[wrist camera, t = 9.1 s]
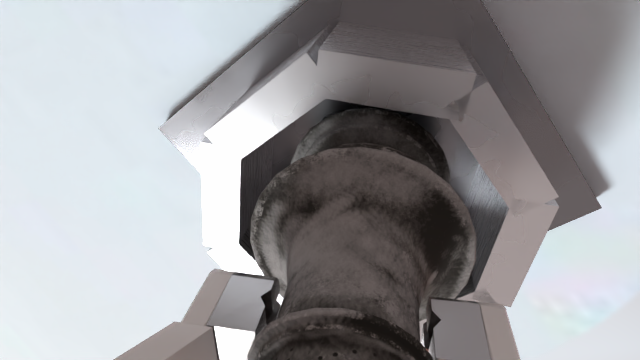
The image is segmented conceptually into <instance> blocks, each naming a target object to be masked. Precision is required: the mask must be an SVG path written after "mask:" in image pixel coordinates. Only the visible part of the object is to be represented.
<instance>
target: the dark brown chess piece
mask: <svg viewBox="0 0 640 360" xmlns="http://www.w3.org/2000/svg"><path fill="white" fill-rule="evenodd" d="M250 242H251V246H252V249H253V253H254V256H255V260H256V263H257V265H258V267H259V268H260V270H261V272H262V273H263V275H264V276H270V277H276V278H278V279H279V286H280V292H279V294H280V295H281V296H282V297H283V301H282V304H281V307H280V310H279V313H278V316H277V319H276V320H274V321H272V322H270V323H269V324H268V325H267V326H266V327H265V328H264V329H263V330H262V331H260V332H259V333H258V334H257V335H256V337H255V339H254V341H253V343H252V345H251V347H250V350H249V352H248V356H247V360H434V359H433V357H432V355H431V354H430V353H429V352H428V351H427V350H426V348H425V347H424V346H423V345H422V344H421V343H420V323H419V321H422V320H424V319H426V306H427V301H428V298H429V296H432V297H441V298H450V299H455V298H456V297H457V295H458V294H459V293H460V292H461V290H462V289H463V288H464V287H465V286H466V284H467V283H468V280H469V278H470V275H471V272H472V270H473V267H474V265H475V262H476V233H475V229H474V226H473V223H472V220H471V217H470V214H469V211H468V208H467V207H466V206H465V204H464V203H463V201H462V200H461V199H460V197H459V196H458V195H457V193H456V192H455V190H454V189H453V188H452V186H451V185H450V169H449V166H448V163H447V160H446V157H445V154H444V151H443V150H442V148H441V147H440V145H439V144H438V142H437V141H436V140H435V138H434V137H433V135H432V134H431V133H430V132H428V131H427V130H426V129H425V128H423V127H422V126H421V125H419V124H418V123H417V122H416V121H414V120H412V119H410V118H408V117H405V116H403V115H401V114H399V113H396V112H394V111H389V110H382V109H376V108H361V109H349V110H346V111H343V112H340V113H337V114H334V115H332V116H329V117H327V118H325V119H324V120H322V121H321V122H320V123H318V124H317V125H315V126H314V127H312V128H311V129H310V130H309V131H308V133H307V134H306V135H305V136H304V138H303V139H302V140H301V141H300V143H299V144H298V146H297V149H296V151H295V154H294V156H293V159H292V161H291V165H289V166H288V167H286V168H285V169H283V170H282V171H281V172H279V173H278V174H276V175H275V177H274V178H273V179H272V180H271V182H270V183H269V184H268V185H267V186H266V188H265V189H264V190H263V191H262V193H261V194H260V196H259V198H258V201H257V203H256V206H255V209H254V212H253V214H252V217H251V233H250Z"/></svg>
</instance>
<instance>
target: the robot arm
mask: <svg viewBox="0 0 640 360" xmlns="http://www.w3.org/2000/svg"><path fill="white" fill-rule="evenodd" d="M279 292H280V286H279V279H278V278H276V277H270V276H263V275H256V274H249V273H243V272H232V271H226V270H219V269H214V270H213V271H211V272H210V273H209V275H208V276H207V278H206V280H205V282H204V283H203V285H202V287H201V288H200V290H199V292H198V294H197V295H196V297H195V299H194V301H193V302H192V304H191V306H190V307H189V309H188V311H187V313H186V314H185V316H184V318H183V320H182V321H181V322H173V323H172V324H170V325H168V326H167V327H165V328H164V329H162V330H160V331H159V332H157V333H155V334H154V335H152V336H151V337H149V338H147V339H146V340H144V341H143V342H141V343H139V344H138V345H136V346H135V347H133V348H131V349H130V350H128V351H127V352H125V353H123V354H122V355H120V356H119V357H117V358H115V359H114V360H247V356H248V352H249V350H250V347H251V345H252V343H253V341H254V339H255V337H256V335H257V334H258V333H259V332H260V331H262V330H263V329H264V328H265V327H266V326H267V325H268V324H269V323H270V322H272V321H274V320H276V319H277V316H278V313H279V310H280V307H281V305H280V304H279V302H278V301H277V298H278V295H279ZM426 319H427V322H425V323H424V324H423V329H422V336H421V344H422V345H423V346H424V347H425V348H426V350H427V351H428V352H429V353H430V354H431V355H432V357H433V359H434V360H520V357H519V353H518V350H517V346H516V343H515V340H514V336H513V333H512V329H511V326H510V322H509V319H508V315H507V312H506V308H505V307H504V306H503V305H502V304H496V303H486V302H476V301H467V300H458V299H450V298H441V297H432V296H429V298H428V301H427V306H426Z"/></svg>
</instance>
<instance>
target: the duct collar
mask: <svg viewBox="0 0 640 360" xmlns="http://www.w3.org/2000/svg"><path fill="white" fill-rule="evenodd" d="M361 108H376V109H382V110H389V111H394V112H396V113H399V114H401V115H403V116H405V117H408V118H410V119H412V120H414V121H416V122H417V123H418V124H419V125H421V126H422V127H423V128H425V129H426V130H427V131H428V132H430V133H431V134H432V135H433V137H434V138H435V140H436V141H437V142H438V144H439V145H440V147H441V148H442V150H443V151H444V154H445V157H446V160H447V163H448V166H449V169H450V185H451V186H452V188H453V189H454V190H455V192H456V193H457V195H458V196H459V197H460V199H461V200H462V201H463V203H464V204H465V206H466V207H467V208H468V211H469V214H470V217H471V220H472V223H473V226H474V229H475V233H476V262H475V265H474V267H473V270H472V272H471V275H470V278H469V280H468V283H467V284H466V286H465V287H464V288H463V289H462V290H461V292H460V293H459V294H458V295H457V297H456V298H455V299H458V300H467V301H476V302H486V303H496V304H502V305H503V306H508V307H511V305H512V303H513V301H514V299H515V297H516V295H517V293H518V291H519V289H520V287H521V285H522V283H523V280H524V278H525V276H526V274H527V272H528V270H529V268H530V266H531V264H532V262H533V260H534V258H535V256H536V254H537V252H538V250H539V247H540V245H541V243H542V241H543V239H544V237H545V235H546V233H547V231H549V230H551V229H554V228H556V227H558V226H561V225H563V224H565V223H568V222H570V221H572V220H575V219H577V218H579V217H582V216H584V215H586V214H589V213H591V212H593V211H596V210H598V209H600V208H601V206H600V204H599V202H598V201H597V199H596V197H595V195H594V194H593V192H592V190H591V189H590V187H589V185H588V183H587V182H586V180H585V178H584V177H583V175H582V173H581V171H580V170H579V168H578V166H577V165H576V163H575V161H574V159H573V158H572V156H571V154H570V153H569V151H568V149H567V147H566V146H565V144H564V142H563V140H562V139H561V137H560V135H559V134H558V132H557V130H556V128H555V127H554V125H553V123H552V122H551V120H550V118H549V116H548V115H547V113H546V111H545V110H544V108H543V106H542V104H541V103H540V101H539V99H538V98H537V96H536V94H535V92H534V91H533V89H532V87H531V86H530V84H529V82H528V80H527V79H526V77H525V75H524V73H523V72H522V70H521V68H520V67H519V65H518V63H517V61H516V60H515V58H514V56H513V55H512V53H511V51H510V49H509V48H508V46H507V44H506V43H505V41H504V39H503V37H502V36H501V34H500V32H499V31H498V29H497V27H496V25H495V24H494V22H493V20H492V18H491V17H490V15H489V13H488V12H487V10H486V8H485V6H484V5H483V3H482V1H481V0H307V1H306V2H305V3H304V4H303V5H302V6H300V7H299V8H298V9H297V10H296V11H295V12H293V13H292V14H291V15H290V16H289V17H288V18H286V19H285V20H284V21H283V22H282V23H281V24H279V25H278V26H277V27H276V28H275V29H274V30H272V31H271V32H270V33H269V34H268V35H267V36H265V37H264V38H263V39H262V40H261V41H260V42H258V43H257V44H256V45H255V46H254V47H253V48H251V49H250V50H249V51H248V52H247V53H246V54H244V55H243V56H242V57H241V58H240V59H239V60H237V61H236V62H235V63H234V64H233V65H232V66H230V67H229V68H228V69H227V70H226V71H225V72H223V73H222V74H221V75H220V76H219V77H218V78H216V79H215V80H214V81H213V82H212V83H211V84H209V85H208V86H207V87H206V88H205V89H204V90H202V91H201V92H200V93H199V94H198V95H197V96H195V97H194V98H193V99H192V100H191V101H190V102H188V103H187V104H186V105H185V106H184V107H183V108H181V109H180V110H179V111H178V112H177V113H176V114H174V115H173V116H172V117H171V118H170V119H169V120H167V121H166V122H165V123H164V124H163V125H162V126H160V127H159V128H158V129H159V130H160V131H161V132H162V133H163V134H164V135H165V136H166V137H167V138H168V139H169V141H170V142H171V143H172V144H173V145H174V146H175V147H176V148H177V149H178V150H179V151H180V152H181V153H182V154H183V155H184V156H185V157H186V158H187V160H188V161H189V162H190V163H191V164H192V165H193V166H194V167H195V168H196V169H197V170H198V171H199V172H200V173H201V180H202V212H203V244H204V245H205V246H210V249H209V251H208V252H207V253H208V254H209V255H210V256H211V257H212V258H213V259H214V260H215V261H216V262H217V263H218V264H219V265H220V266H221V267H222V268H223V269H224V270H226V271H232V272H243V273H249V274H256V275H263V273H262V272H261V270H260V268H259V267H258V265H257V263H256V260H255V256H254V253H253V249H252V246H251V242H250V233H251V217H252V214H253V212H254V209H255V206H256V203H257V201H258V198H259V196H260V194H261V193H262V191H263V190H264V189H265V188H266V186H267V185H268V184H269V183H270V182H271V180H272V179H273V178H274V177H275V175H276V174H278V173H279V172H281V171H282V170H283V169H285V168H286V167H288V166H289V165H291V161H292V159H293V156H294V154H295V151H296V149H297V146H298V144H299V143H300V141H301V140H302V139H303V138H304V136H305V135H306V134H307V133H308V131H309V130H310V129H311V128H312V127H314V126H315V125H317V124H318V123H320V122H321V121H322V120H324V119H325V118H327V117H329V116H332V115H334V114H337V113H340V112H343V111H346V110H349V109H361ZM263 276H264V275H263ZM277 301H278V302H279V304H280V305H281V304H282V301H283V297H282V296H281V295H280V294H279V295H278V298H277ZM425 322H427V319H424V320H422V321H419V323H420V343H421V336H422V329H423V324H424V323H425Z"/></svg>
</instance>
